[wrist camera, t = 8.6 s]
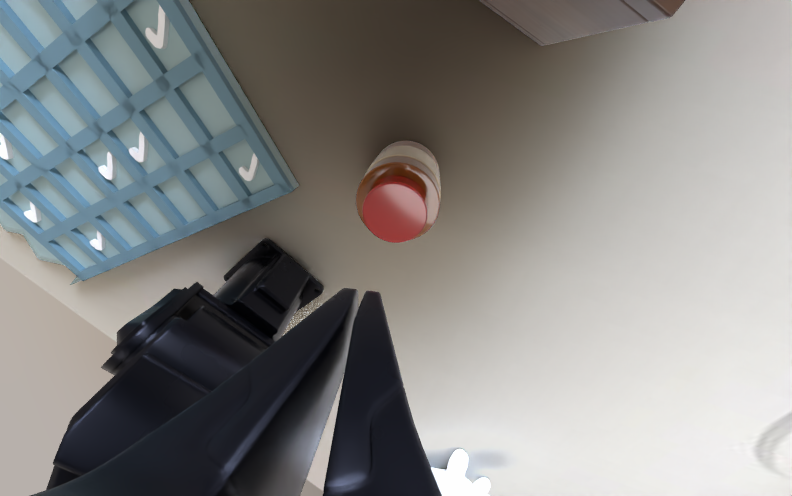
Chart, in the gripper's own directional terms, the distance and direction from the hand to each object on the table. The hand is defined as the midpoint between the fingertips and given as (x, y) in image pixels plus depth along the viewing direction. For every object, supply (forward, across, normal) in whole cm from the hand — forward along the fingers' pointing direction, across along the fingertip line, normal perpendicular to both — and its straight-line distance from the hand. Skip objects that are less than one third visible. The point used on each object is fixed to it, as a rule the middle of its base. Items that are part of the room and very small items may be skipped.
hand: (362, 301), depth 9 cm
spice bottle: (+13, 0, 0) cm, 13 cm away
